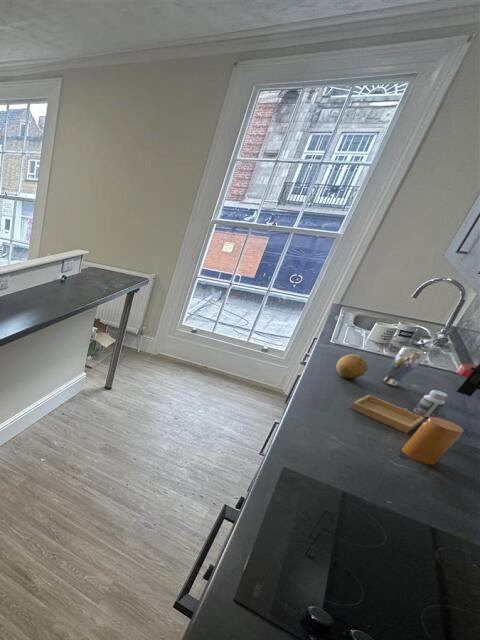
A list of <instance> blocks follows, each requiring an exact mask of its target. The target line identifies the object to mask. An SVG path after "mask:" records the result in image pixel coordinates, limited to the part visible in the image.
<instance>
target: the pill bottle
mask: <svg viewBox="0 0 480 640" xmlns="http://www.w3.org/2000/svg"><path fill="white" fill-rule="evenodd" d="M447 397H448V394H447V393H445V392H443V391H440V390H437V389H432V390H431V391H430V392H429V394H425V395H424V396H423V397H422V398H421V399H420V400H419V402H418V403H417V404H416V406H415V407H414V408H413V413H414V414H417V415H419V416H422V417H424V418H427V419H428V418H430V417H436V415H437V414H438V413H439V412H440V410H441V409H442V407H444V405H445V403H446V401H445V400H446V399H447Z"/></svg>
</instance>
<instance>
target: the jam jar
mask: <svg viewBox="0 0 480 640" xmlns="http://www.w3.org/2000/svg"><path fill="white" fill-rule="evenodd" d="M464 432H465V431H464V428H463V427H461V426H460V425H458V424H456V423H454V422H452V421H449V420H448V419H444V418H441V417H437V416H434V417H430V418H428V417H427V419H426V420H425V421H423V423H422V424H421V425H420V426H419V427H418V428H417V430H416V431H415V432H414V433H413V434H412V436H411V437H410V438H409V439H408V441H407V442H406V443H405V444H403V445H404V446H402V448H401V452H402V453H403V454H404V455H406V456H407V457H409V458H411V459H412V460H415V461H416V462H419V463H422V464H426V465H432V466H433V465H436V464H438V463H439V461H440V460H441V459H442V458H443V456H444V455H445V454H446V453H447V452H448V451H449V450H450V449H451V448H452V447H453V446H454V445H455V443H456V442H457V441H459V439H460V438H461V435H462V434H463V433H464Z"/></svg>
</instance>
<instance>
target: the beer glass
mask: <svg viewBox="0 0 480 640" xmlns="http://www.w3.org/2000/svg"><path fill="white" fill-rule="evenodd" d="M425 356H426V351H424V350H421V349H419V348H416V347H412V346H403V347H402V348H401V349H400V350H399V351H398V353H397V354H396V355H395V357H394V358H393V360H392V362H391V364H390V366H389V369H388V371H387V372H386V374H385V375H384V376H383V377H382V378H381V379H380V381H381V380H382V381H383V382H385V383H388V384H390V385H394V386H400V387H401V386H402V383H403V381H404V380H405V379H406V377H408V376H409V375H410V374H411V373H412V372H413V371H414V370H415V369H416V368H417V367H418V366H419V364H421V362H422V361H423V359H424V357H425ZM382 381H381V382H382ZM383 382H382V383H383ZM385 383H384V384H385ZM390 385H389V386H390ZM394 386H393V387H394Z"/></svg>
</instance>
